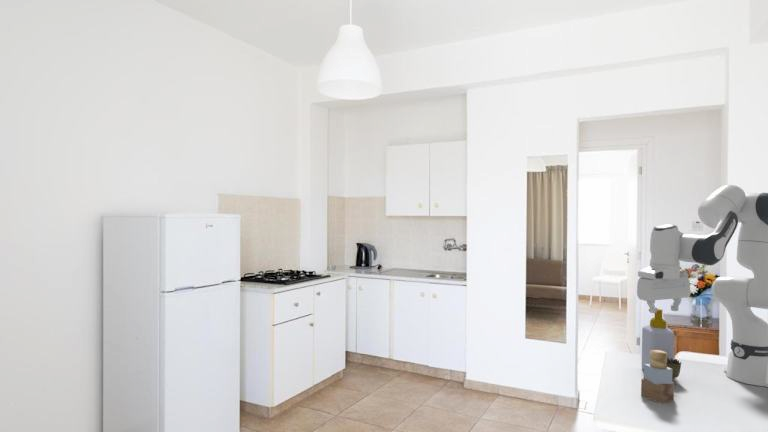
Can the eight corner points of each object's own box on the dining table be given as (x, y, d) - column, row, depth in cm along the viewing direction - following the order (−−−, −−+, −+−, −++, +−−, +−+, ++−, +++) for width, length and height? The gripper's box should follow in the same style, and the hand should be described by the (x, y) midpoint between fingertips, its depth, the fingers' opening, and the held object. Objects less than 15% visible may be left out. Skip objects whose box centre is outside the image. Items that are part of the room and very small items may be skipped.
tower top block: (658, 377, 163) (658, 363, 163) (672, 383, 157) (672, 369, 157) (643, 378, 162) (643, 364, 162) (656, 384, 156) (657, 370, 156)
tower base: (653, 392, 164) (654, 375, 164) (673, 400, 158) (674, 382, 158) (641, 396, 161) (641, 378, 161) (660, 403, 155) (661, 385, 155)
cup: (684, 385, 171) (684, 364, 171) (662, 383, 173) (662, 362, 173) (675, 378, 179) (676, 357, 178) (654, 376, 180) (655, 356, 180)
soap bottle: (639, 367, 190) (641, 306, 190) (662, 368, 190) (663, 307, 189) (651, 375, 181) (653, 311, 181) (675, 376, 181) (676, 312, 180)
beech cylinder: (657, 363, 163) (657, 349, 163) (670, 368, 158) (670, 353, 158) (646, 364, 161) (646, 350, 161) (659, 369, 156) (659, 354, 156)
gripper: (679, 269, 166) (678, 307, 166) (633, 272, 160) (633, 311, 160) (695, 271, 160) (695, 311, 160) (649, 274, 154) (648, 316, 154)
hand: (664, 311), depth 160 cm, fingers open, 8 cm apart
